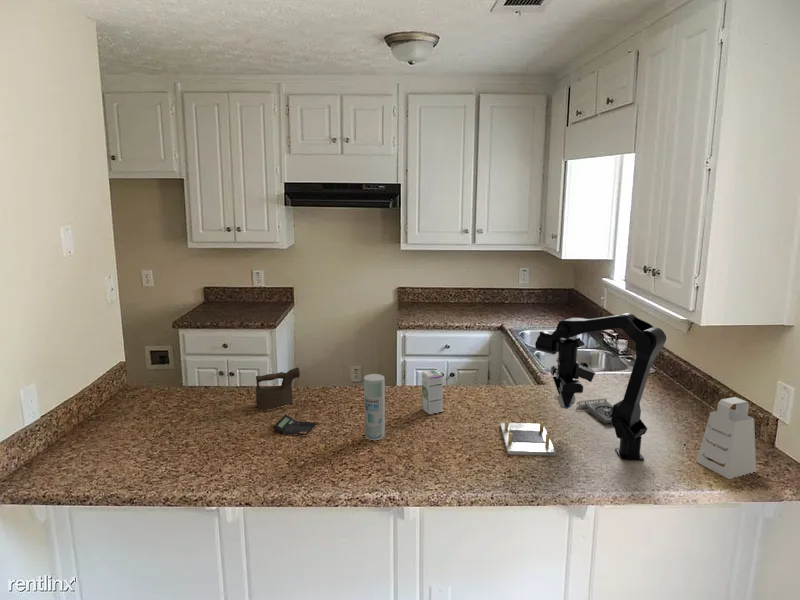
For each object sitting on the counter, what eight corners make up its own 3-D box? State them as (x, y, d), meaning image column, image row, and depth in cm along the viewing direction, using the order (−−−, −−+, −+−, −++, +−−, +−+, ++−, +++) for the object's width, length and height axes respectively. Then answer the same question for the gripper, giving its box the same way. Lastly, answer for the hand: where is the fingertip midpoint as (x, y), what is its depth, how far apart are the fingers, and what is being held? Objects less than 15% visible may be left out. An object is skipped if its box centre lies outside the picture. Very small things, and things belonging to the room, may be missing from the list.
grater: (695, 461, 155) (703, 396, 151) (722, 455, 159) (730, 391, 155) (729, 479, 146) (738, 410, 142) (756, 472, 149) (765, 404, 145)
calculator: (306, 437, 172) (306, 428, 171) (273, 434, 174) (272, 425, 173) (316, 425, 181) (316, 416, 180) (284, 422, 183) (284, 414, 182)
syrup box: (443, 412, 190) (443, 373, 187) (427, 415, 188) (428, 375, 185) (436, 406, 195) (436, 368, 192) (421, 409, 193) (421, 370, 190)
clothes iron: (302, 405, 197) (301, 370, 194) (258, 412, 191) (256, 376, 188) (297, 398, 204) (296, 364, 201) (255, 404, 198) (253, 369, 195)
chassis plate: (555, 455, 159) (556, 442, 158) (507, 454, 160) (508, 441, 159) (542, 427, 178) (543, 415, 177) (500, 425, 179) (500, 414, 178)
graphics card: (575, 399, 194) (606, 397, 196) (574, 409, 195) (605, 406, 196) (598, 419, 178) (632, 416, 179) (598, 429, 178) (631, 426, 180)
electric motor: (551, 406, 173) (552, 392, 173) (558, 402, 177) (559, 388, 176) (571, 412, 169) (572, 397, 168) (578, 408, 172) (579, 393, 171)
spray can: (387, 433, 174) (387, 374, 170) (381, 442, 167) (380, 381, 164) (368, 431, 175) (367, 373, 171) (361, 439, 169) (360, 379, 165)
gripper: (602, 367, 160) (598, 416, 163) (585, 349, 179) (582, 393, 182) (564, 366, 161) (561, 415, 164) (551, 349, 179) (549, 393, 182)
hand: (564, 403), depth 173 cm, fingers closed on electric motor, 5 cm apart
